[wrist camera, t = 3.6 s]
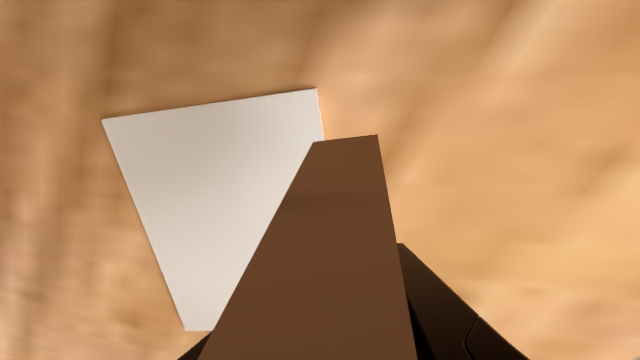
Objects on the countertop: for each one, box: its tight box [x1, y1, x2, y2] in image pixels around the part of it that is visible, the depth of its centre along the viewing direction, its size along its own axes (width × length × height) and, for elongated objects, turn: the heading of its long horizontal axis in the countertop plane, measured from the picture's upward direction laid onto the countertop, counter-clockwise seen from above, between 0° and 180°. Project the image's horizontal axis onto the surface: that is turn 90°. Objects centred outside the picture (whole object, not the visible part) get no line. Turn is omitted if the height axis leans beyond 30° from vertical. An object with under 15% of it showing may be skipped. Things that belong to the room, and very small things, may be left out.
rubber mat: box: [101, 88, 325, 331], centre depth 22 cm, size 18×14×1 cm
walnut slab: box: [197, 135, 418, 360], centre depth 7 cm, size 6×2×8 cm, turn 9°
